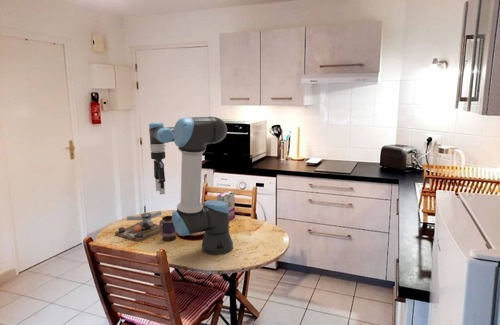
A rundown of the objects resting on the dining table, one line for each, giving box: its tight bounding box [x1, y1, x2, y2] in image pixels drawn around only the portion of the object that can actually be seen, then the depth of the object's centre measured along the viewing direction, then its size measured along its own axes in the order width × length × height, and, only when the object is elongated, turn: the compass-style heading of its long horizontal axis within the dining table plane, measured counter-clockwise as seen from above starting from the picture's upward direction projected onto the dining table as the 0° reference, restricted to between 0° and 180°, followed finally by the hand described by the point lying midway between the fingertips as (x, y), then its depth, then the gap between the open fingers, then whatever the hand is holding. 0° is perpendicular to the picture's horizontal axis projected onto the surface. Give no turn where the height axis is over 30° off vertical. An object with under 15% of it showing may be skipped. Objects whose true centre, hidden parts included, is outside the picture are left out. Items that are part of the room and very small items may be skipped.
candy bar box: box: [216, 190, 236, 221], centre depth 210 cm, size 11×5×16 cm, turn 147°
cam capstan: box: [126, 210, 163, 231], centre depth 195 cm, size 19×16×8 cm
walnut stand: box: [114, 223, 160, 243], centre depth 192 cm, size 18×20×4 cm
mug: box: [158, 215, 177, 242], centre depth 181 cm, size 10×7×12 cm
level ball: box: [134, 225, 142, 232], centre depth 188 cm, size 4×4×4 cm
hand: (160, 192), depth 194 cm, fingers open, 8 cm apart
